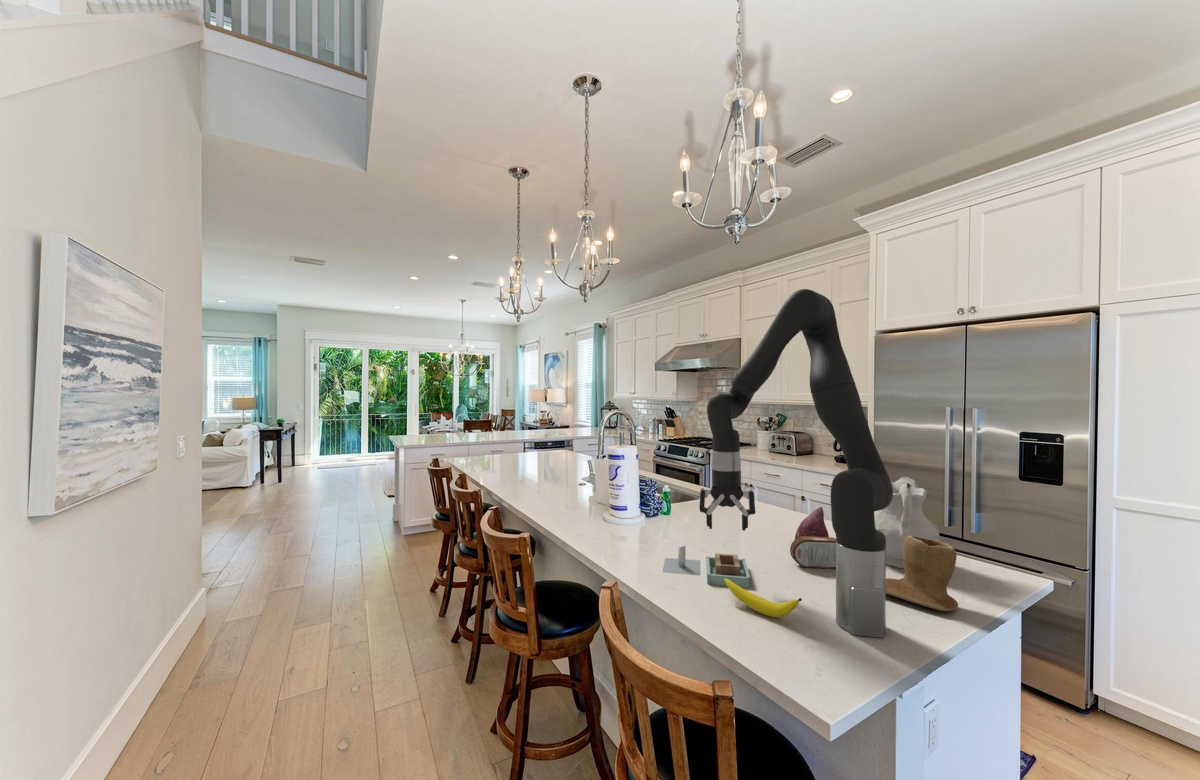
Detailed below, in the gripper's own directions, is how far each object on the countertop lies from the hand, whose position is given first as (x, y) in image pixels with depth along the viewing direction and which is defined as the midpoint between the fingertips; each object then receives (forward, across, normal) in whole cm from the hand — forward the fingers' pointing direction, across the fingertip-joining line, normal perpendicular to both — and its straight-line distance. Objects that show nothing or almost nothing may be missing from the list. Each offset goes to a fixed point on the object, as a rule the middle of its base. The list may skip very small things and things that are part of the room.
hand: (727, 529), depth 125 cm
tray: (+13, 0, +1) cm, 13 cm away
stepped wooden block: (+12, 0, +1) cm, 12 cm away
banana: (+14, +6, -18) cm, 24 cm away
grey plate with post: (+13, -12, +5) cm, 18 cm away
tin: (+13, +26, +13) cm, 32 cm away
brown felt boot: (+14, +44, -4) cm, 46 cm away
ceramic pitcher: (+14, +50, +21) cm, 56 cm away
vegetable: (+13, +28, +30) cm, 43 cm away
